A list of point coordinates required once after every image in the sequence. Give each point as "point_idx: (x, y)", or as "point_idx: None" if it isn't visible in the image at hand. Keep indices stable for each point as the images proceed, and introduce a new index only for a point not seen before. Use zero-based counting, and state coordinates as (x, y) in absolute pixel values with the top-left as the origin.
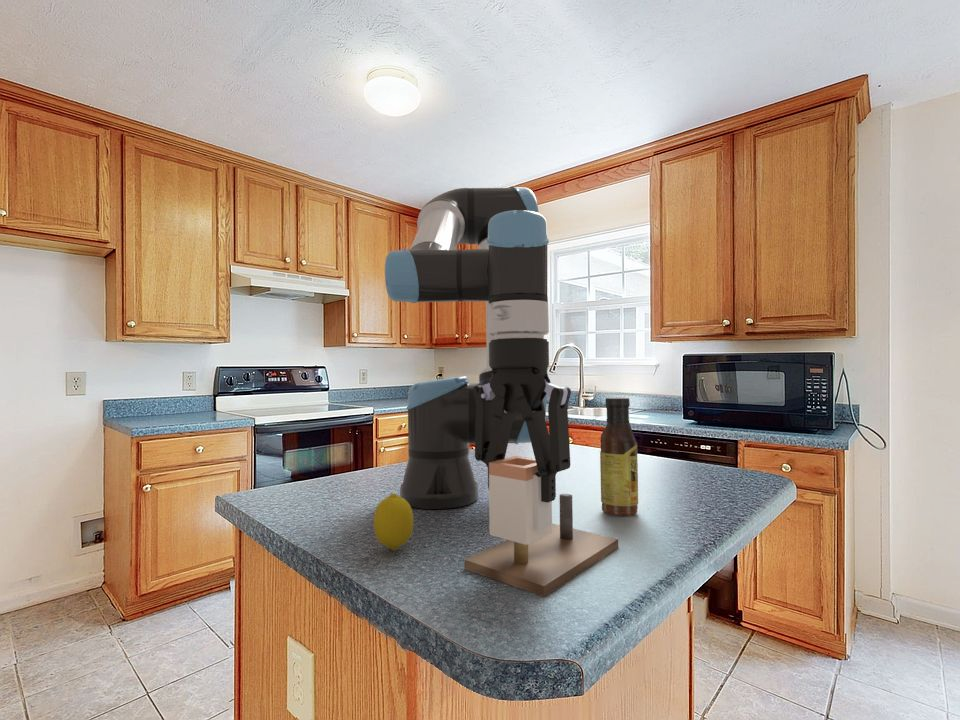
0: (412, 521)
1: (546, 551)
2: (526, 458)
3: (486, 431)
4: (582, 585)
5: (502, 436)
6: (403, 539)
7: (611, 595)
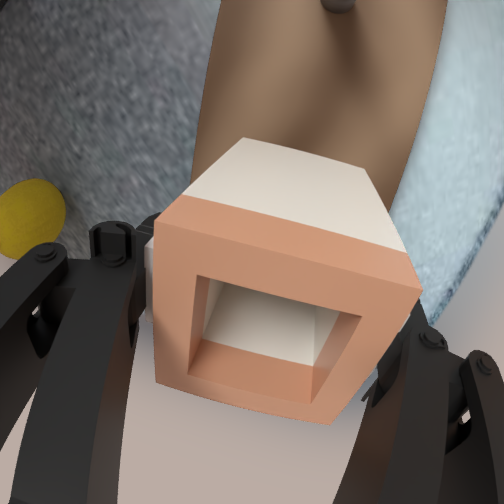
0: (45, 207)
1: (325, 104)
2: (254, 268)
3: (9, 393)
4: (417, 192)
5: (117, 433)
6: (64, 216)
7: (461, 212)
